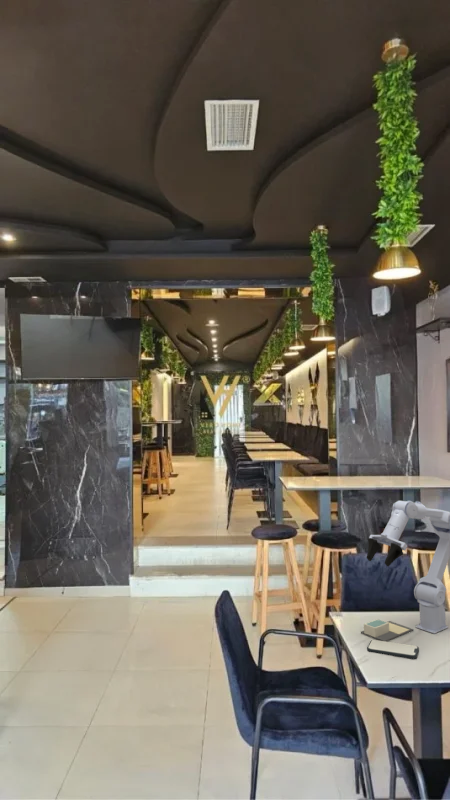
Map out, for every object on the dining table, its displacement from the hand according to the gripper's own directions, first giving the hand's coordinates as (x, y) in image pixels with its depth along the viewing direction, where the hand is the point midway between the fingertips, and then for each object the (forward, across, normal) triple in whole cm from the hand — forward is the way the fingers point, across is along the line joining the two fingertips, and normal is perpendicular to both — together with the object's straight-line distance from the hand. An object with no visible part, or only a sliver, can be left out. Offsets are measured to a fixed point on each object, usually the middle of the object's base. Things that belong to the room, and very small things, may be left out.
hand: (377, 562), depth 180 cm
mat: (+13, -5, +29) cm, 32 cm away
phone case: (+21, +6, +20) cm, 30 cm away
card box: (+16, -6, +25) cm, 30 cm away
